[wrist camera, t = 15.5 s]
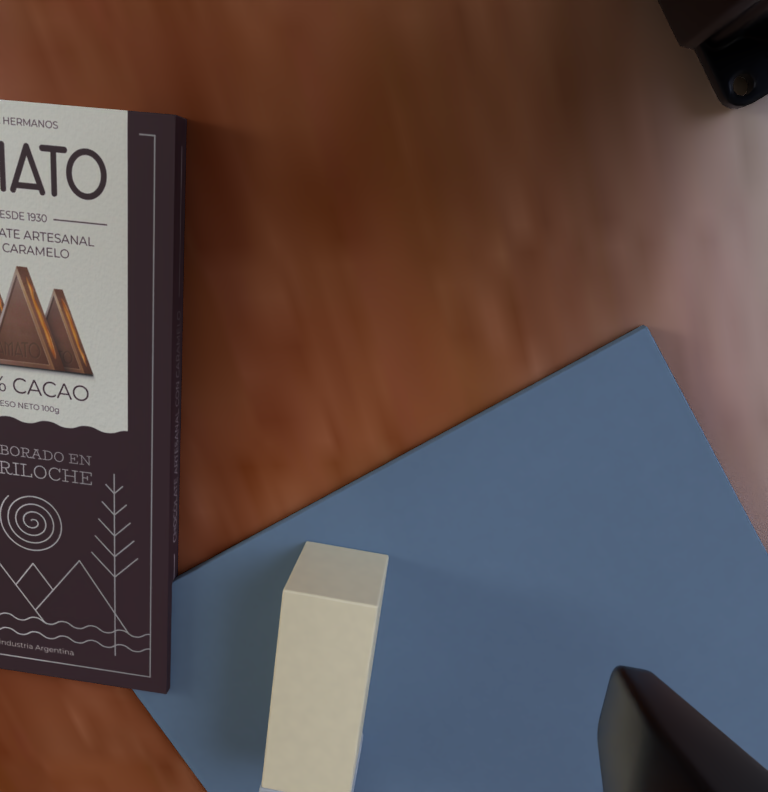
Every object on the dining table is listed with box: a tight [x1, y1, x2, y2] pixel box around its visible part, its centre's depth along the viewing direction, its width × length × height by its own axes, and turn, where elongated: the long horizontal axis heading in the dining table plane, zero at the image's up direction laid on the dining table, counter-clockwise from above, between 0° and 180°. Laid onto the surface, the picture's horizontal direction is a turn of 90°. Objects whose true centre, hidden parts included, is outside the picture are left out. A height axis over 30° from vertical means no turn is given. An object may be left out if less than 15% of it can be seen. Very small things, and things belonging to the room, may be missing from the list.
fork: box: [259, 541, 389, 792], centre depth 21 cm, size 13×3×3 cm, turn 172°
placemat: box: [132, 325, 768, 792], centre depth 22 cm, size 20×16×1 cm
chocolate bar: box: [0, 100, 187, 694], centre depth 21 cm, size 9×1×18 cm
